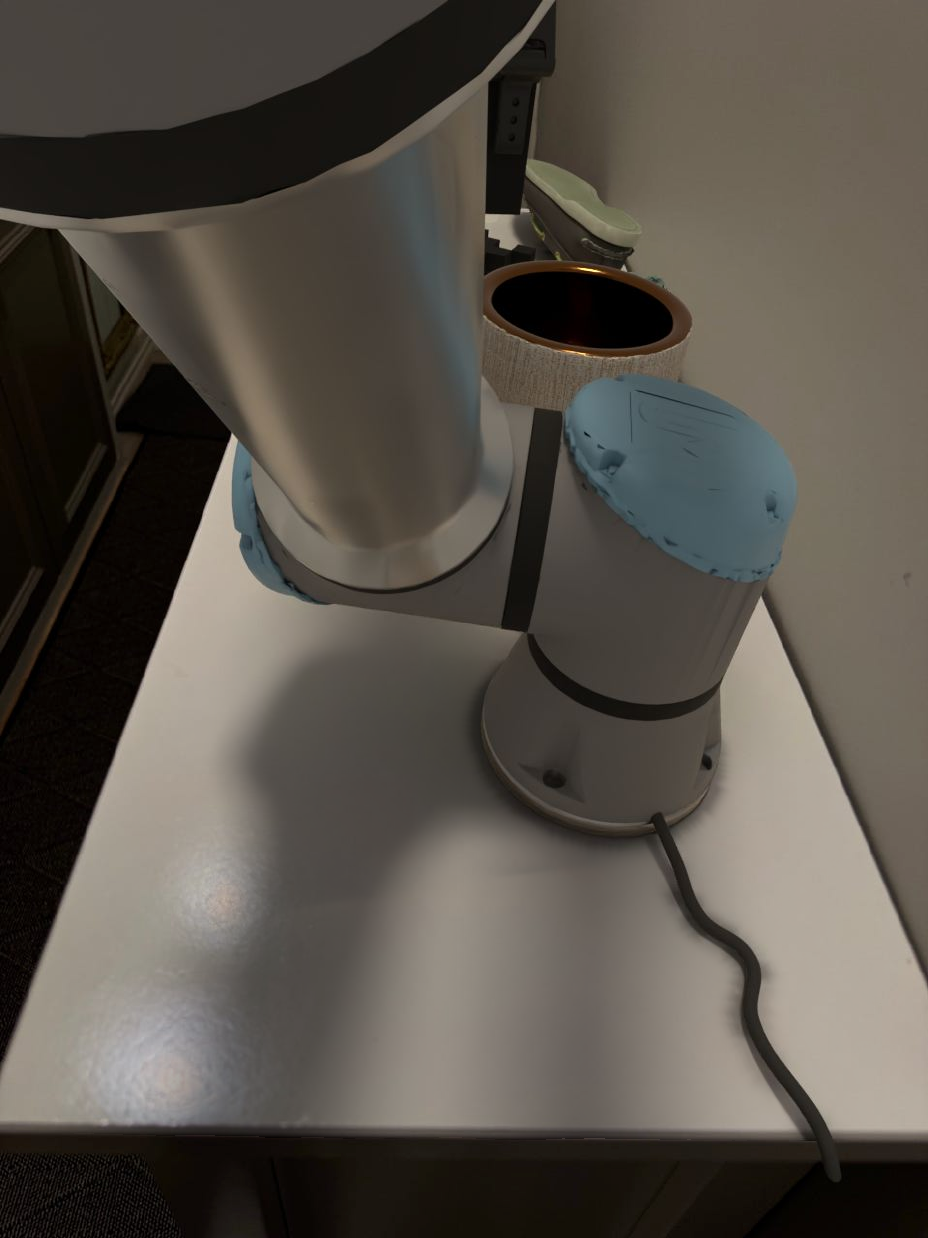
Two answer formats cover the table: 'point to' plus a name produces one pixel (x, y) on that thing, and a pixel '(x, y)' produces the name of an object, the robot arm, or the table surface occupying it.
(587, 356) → the planter
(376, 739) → the table surface
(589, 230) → the boat shoe
